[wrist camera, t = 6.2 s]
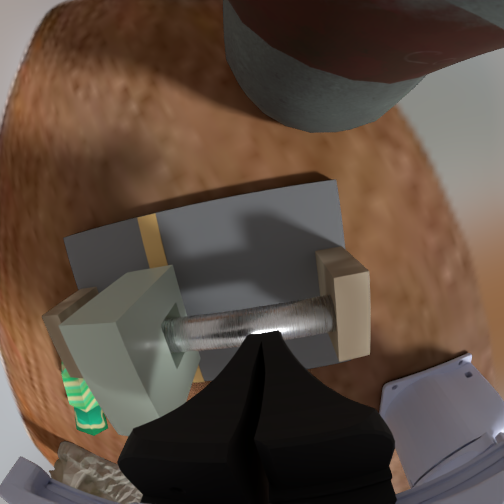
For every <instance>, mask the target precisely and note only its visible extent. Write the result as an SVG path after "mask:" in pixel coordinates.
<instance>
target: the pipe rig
mask: <svg viewBox="0 0 504 504" xmlns="http://www.w3.org/2000/svg"><path fill="white" fill-rule="evenodd" d="M63 239H64V243H65V246H66V250H67V254H68V258H69V261H70V264H71V268H72V271H73V274H74V278H75V281H76V284H77V287H78V291H77V292H75V293H74V294H72V295H71V296H69V297H68V298H66V299H65V300H64V301H62V302H61V303H59V304H58V305H56V306H55V307H54V308H52V309H51V310H49V311H48V312H47V313H45V314H44V315H42V318H43V321H44V323H45V326H46V328H47V330H48V333H49V335H50V337H51V339H52V342H53V344H54V346H55V348H56V350H57V352H58V354H59V356H60V358H61V360H62V362H63V364H64V366H65V368H66V370H67V372H68V374H69V375H70V377H73V378H83V376H82V374H81V372H80V371H79V369H78V367H77V365H76V363H75V361H74V359H73V357H72V355H71V353H70V351H69V348H68V346H67V344H66V342H65V340H64V338H63V335H62V333H61V331H60V328H59V325H60V324H61V323H62V322H64V321H65V320H66V319H67V318H68V317H70V316H71V315H72V314H73V313H75V312H76V311H77V310H79V309H80V308H81V307H82V306H84V305H85V304H86V303H87V302H89V301H90V300H91V299H93V298H94V297H95V296H96V295H98V294H99V293H100V292H102V291H103V290H104V289H106V288H107V287H108V286H110V285H111V284H112V283H114V282H115V281H116V280H118V279H119V278H120V277H122V276H123V275H124V274H126V273H127V272H133V271H138V270H144V269H150V268H156V267H162V266H167V265H173V267H174V271H175V275H176V279H177V282H178V286H179V290H180V293H181V297H182V300H183V304H184V307H185V310H186V314H187V316H185V317H176V318H166V319H164V320H163V322H162V323H161V328H162V331H163V334H164V337H165V340H166V342H167V345H168V348H169V350H170V353H174V352H189V351H198V352H199V355H200V358H201V359H200V362H199V364H198V367H197V370H196V373H195V376H194V379H193V382H192V383H195V382H204V381H213V380H214V379H215V378H216V377H217V375H218V374H219V373H220V372H221V371H222V370H223V369H224V367H225V366H226V365H227V364H228V362H229V361H230V360H231V358H232V357H233V356H234V354H235V353H236V351H237V350H238V349H239V347H240V346H241V344H242V342H243V341H244V339H245V338H246V336H247V335H248V334H256V333H263V332H270V331H276V330H279V331H280V332H281V333H282V337H283V339H284V341H285V343H286V344H287V346H288V348H289V349H290V350H291V352H292V353H293V354H294V356H295V357H296V358H297V360H298V361H299V362H300V363H301V364H302V365H303V366H304V367H305V368H306V369H311V368H316V367H322V366H327V365H332V364H336V363H341V362H346V361H350V360H351V359H354V358H358V357H362V356H366V355H370V278H369V271H368V270H367V269H366V268H365V267H364V266H363V265H362V264H361V263H360V262H359V261H357V260H356V259H355V258H354V257H353V256H352V255H351V254H350V253H349V252H347V251H346V250H345V242H344V233H343V225H342V217H341V209H340V202H339V195H338V188H337V182H336V180H325V181H318V182H312V183H305V184H298V185H292V186H286V187H280V188H274V189H268V190H262V191H257V192H251V193H246V194H240V195H235V196H230V197H225V198H220V199H215V200H210V201H205V202H200V203H196V204H191V205H187V206H182V207H178V208H173V209H169V210H165V211H160V212H156V213H152V214H148V215H144V216H140V217H136V218H132V219H128V220H124V221H120V222H116V223H113V224H109V225H105V226H101V227H98V228H94V229H91V230H87V231H84V232H80V233H77V234H73V235H70V236H67V237H65V238H63ZM83 379H84V378H83Z"/></svg>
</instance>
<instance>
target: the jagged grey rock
mask: <svg viewBox="0 0 504 504" xmlns="http://www.w3.org/2000/svg"><path fill="white" fill-rule="evenodd" d="M58 457H59V459H58V460H57V461H56V462H55V465H54V468H55V470H54V471H53V470H52V471H49V472H50V474H51V478H52V479H54V480H56V481H59V482H61V483H63V484H66V485H68V486H71V487H73V488H76V489H78V490H81V491H84V492H86V493H89V494H92V495H95V496H98V497H101V498H104V499H107V500H111V501H114V502H118V503H121V504H129V503H132V502H138V503H140V501H141V499H142V496H143V494H142V493H141V492H140V491H139V490H138V489H137V488H136V487H135V486H134V485H133V484H132V483H131V482H130V481H129V480H128V479H127V478H126V477H125V476H124V474H123V473H122V472H121V470H120V469H119V466H118V464H115V463H113V462H111V461H108V460H105V459H104V458H101V457H99V456H97V455H95V454H93V453H91V452H89V451H87V450H85V449H83V448H81V447H79V446H77V445H75V444H73V443H70V442H66V441H64V442H61V443H60V446H59V449H58Z"/></svg>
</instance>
